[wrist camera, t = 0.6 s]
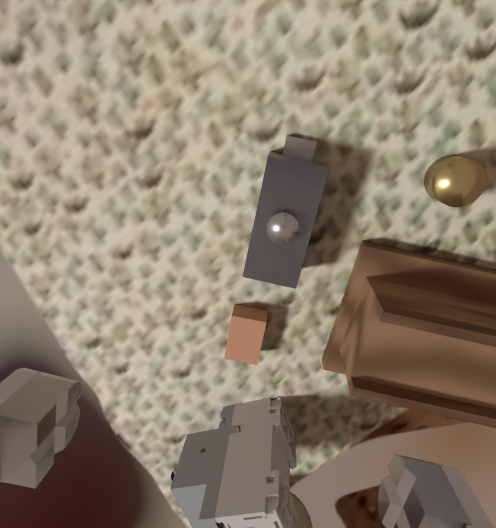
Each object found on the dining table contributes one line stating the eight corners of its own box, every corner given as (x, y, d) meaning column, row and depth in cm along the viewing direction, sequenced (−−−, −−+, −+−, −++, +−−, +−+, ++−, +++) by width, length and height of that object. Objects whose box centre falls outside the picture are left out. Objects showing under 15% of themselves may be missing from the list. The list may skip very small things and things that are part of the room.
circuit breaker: (183, 414, 50) (144, 526, 36) (280, 396, 47) (278, 510, 33) (202, 452, 52) (172, 571, 39) (295, 437, 50) (299, 559, 36)
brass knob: (434, 151, 34) (447, 153, 32) (478, 160, 34) (495, 164, 32) (417, 195, 36) (428, 201, 33) (459, 204, 36) (474, 211, 33)
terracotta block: (235, 303, 43) (231, 315, 40) (267, 309, 43) (266, 322, 40) (228, 343, 45) (224, 358, 42) (258, 350, 45) (257, 365, 42)
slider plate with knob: (274, 132, 35) (272, 134, 30) (328, 144, 35) (337, 148, 29) (244, 273, 41) (238, 296, 35) (290, 283, 41) (291, 308, 35)
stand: (362, 240, 38) (385, 275, 29) (545, 280, 38) (624, 328, 29) (322, 359, 44) (331, 417, 36) (479, 394, 44) (527, 462, 35)
